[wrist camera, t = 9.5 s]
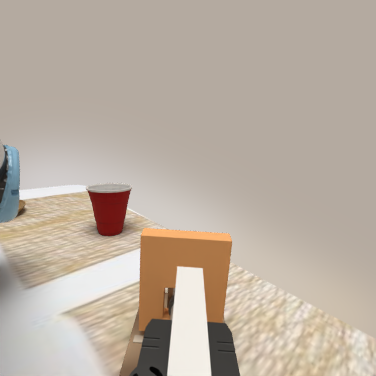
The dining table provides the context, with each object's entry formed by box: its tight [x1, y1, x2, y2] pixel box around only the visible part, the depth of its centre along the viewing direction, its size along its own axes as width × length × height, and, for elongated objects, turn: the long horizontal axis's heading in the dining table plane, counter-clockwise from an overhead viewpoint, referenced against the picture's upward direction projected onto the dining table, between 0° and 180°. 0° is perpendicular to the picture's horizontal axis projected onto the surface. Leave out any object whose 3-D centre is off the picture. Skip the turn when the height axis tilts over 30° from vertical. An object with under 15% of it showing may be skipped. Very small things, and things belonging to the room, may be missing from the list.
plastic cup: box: [86, 183, 132, 236], centre depth 61 cm, size 11×11×12 cm
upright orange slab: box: [139, 228, 232, 331], centre depth 29 cm, size 2×10×12 cm, turn 89°
